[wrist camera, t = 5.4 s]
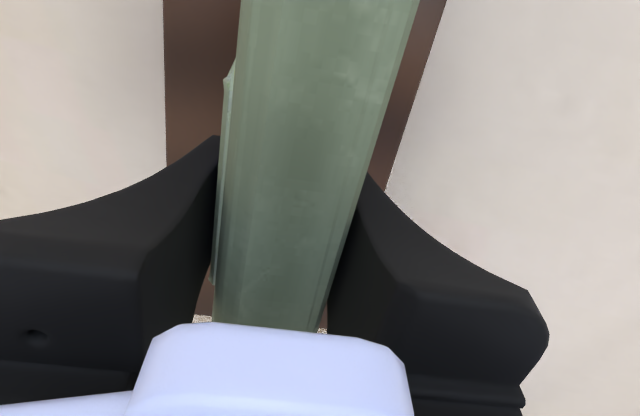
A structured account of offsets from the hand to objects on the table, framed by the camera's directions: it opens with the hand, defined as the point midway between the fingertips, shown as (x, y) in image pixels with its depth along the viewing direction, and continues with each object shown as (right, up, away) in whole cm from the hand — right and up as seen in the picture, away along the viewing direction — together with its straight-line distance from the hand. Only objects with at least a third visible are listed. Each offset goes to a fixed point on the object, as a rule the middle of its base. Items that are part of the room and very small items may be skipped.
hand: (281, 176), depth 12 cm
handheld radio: (0, +2, +2) cm, 3 cm away
